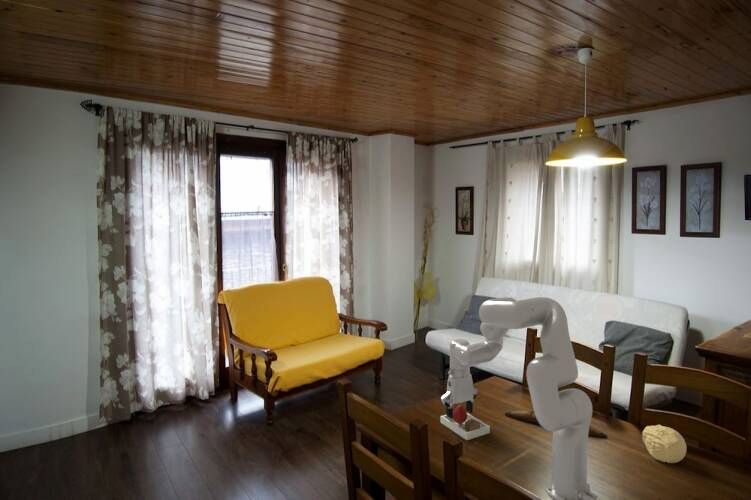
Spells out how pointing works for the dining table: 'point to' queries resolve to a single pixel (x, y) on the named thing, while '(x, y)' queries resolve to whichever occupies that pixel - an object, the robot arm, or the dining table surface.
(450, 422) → the tray
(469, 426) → the walnut block
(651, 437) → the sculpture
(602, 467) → the dining table surface
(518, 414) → the bread
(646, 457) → the dining table surface
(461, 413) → the onion
